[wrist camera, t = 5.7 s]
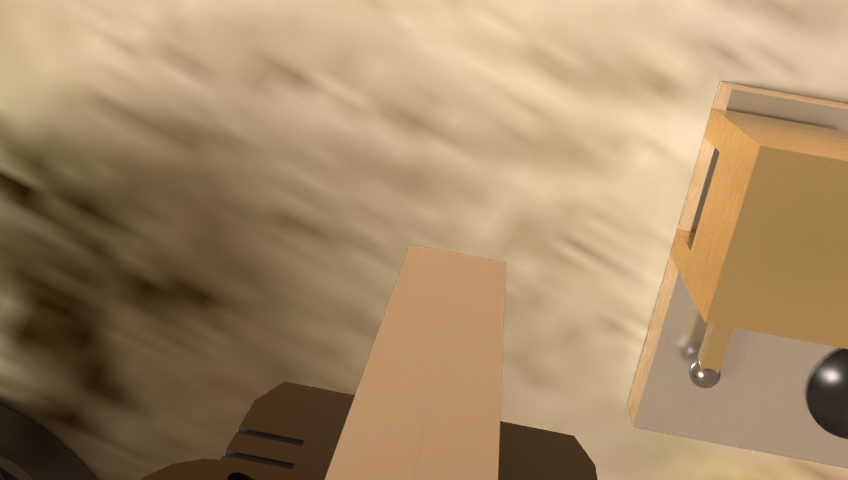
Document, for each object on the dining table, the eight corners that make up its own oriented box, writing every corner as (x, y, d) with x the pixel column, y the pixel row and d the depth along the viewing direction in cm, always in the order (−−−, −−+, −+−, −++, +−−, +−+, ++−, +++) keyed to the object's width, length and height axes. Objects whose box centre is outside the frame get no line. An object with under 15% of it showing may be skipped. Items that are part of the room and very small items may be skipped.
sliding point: (756, 389, 27) (807, 480, 23) (638, 366, 27) (664, 453, 23) (846, 130, 24) (927, 175, 19) (711, 107, 24) (760, 145, 20)
